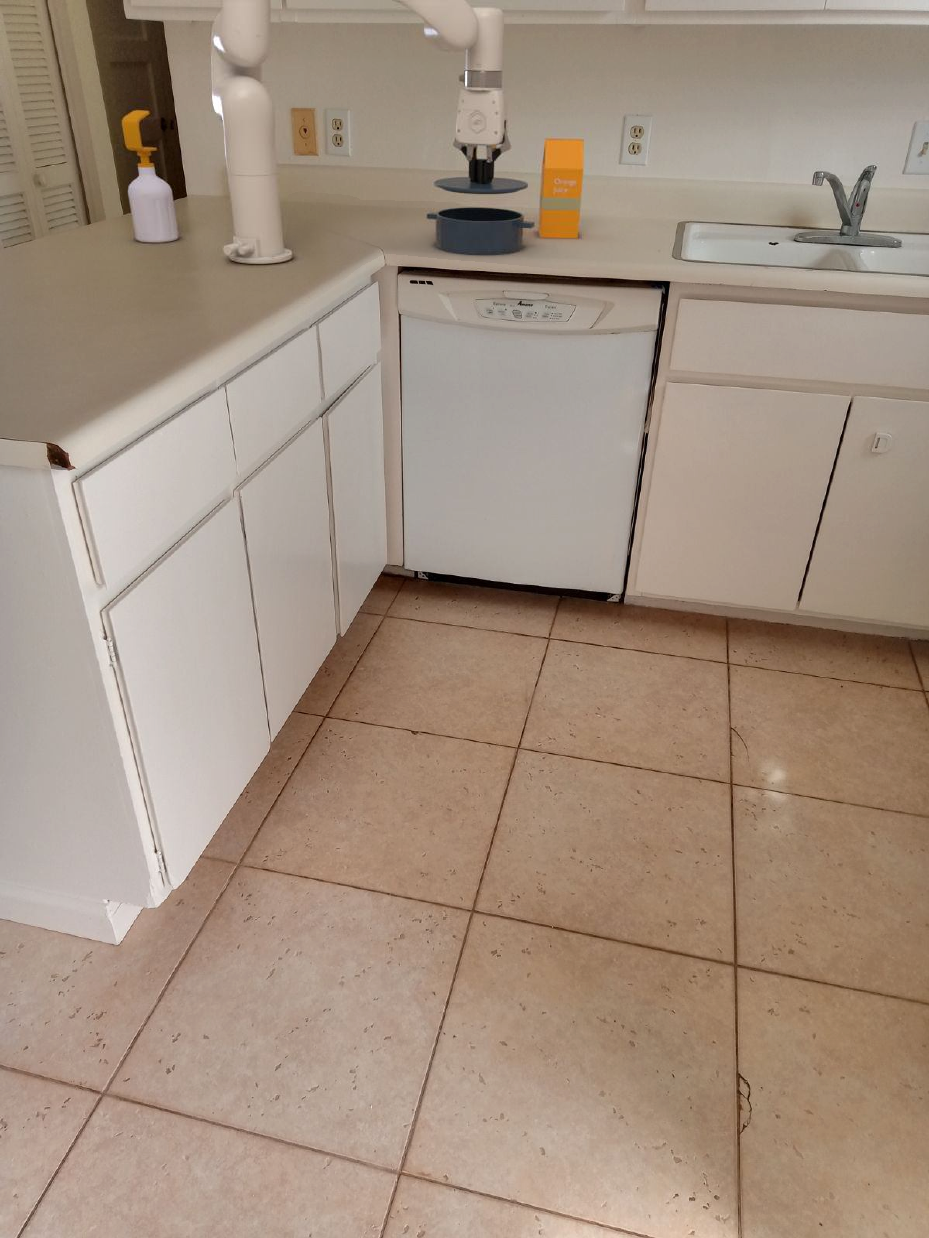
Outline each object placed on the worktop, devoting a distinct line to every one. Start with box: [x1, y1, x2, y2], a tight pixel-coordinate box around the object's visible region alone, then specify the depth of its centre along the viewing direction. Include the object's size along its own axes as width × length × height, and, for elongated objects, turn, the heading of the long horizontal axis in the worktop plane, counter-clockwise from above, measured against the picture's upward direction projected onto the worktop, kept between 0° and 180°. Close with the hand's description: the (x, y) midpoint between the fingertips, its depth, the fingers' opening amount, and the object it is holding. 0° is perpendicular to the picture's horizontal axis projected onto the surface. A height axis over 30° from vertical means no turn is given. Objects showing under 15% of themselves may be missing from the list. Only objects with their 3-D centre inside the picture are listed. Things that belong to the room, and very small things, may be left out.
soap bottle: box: [121, 109, 179, 244], centre depth 188 cm, size 9×9×25 cm
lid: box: [433, 158, 529, 195], centre depth 188 cm, size 20×20×6 cm
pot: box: [426, 206, 535, 256], centre depth 194 cm, size 19×24×6 cm
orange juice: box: [537, 138, 584, 239], centre depth 204 cm, size 8×9×20 cm
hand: (481, 181), depth 189 cm, fingers closed on lid, 2 cm apart
